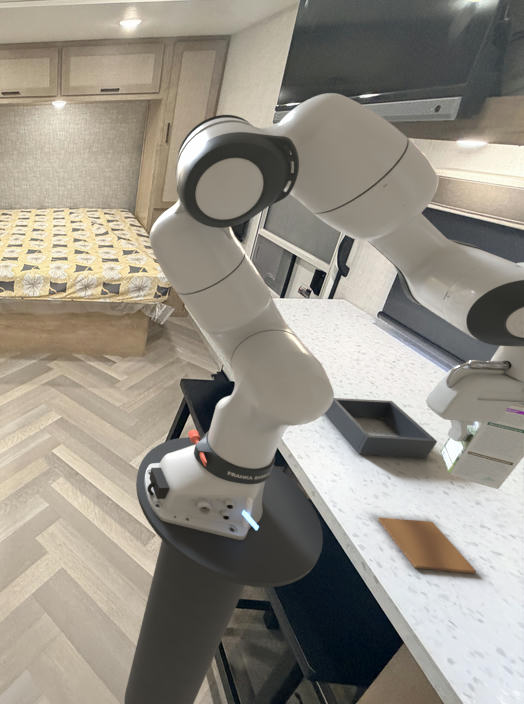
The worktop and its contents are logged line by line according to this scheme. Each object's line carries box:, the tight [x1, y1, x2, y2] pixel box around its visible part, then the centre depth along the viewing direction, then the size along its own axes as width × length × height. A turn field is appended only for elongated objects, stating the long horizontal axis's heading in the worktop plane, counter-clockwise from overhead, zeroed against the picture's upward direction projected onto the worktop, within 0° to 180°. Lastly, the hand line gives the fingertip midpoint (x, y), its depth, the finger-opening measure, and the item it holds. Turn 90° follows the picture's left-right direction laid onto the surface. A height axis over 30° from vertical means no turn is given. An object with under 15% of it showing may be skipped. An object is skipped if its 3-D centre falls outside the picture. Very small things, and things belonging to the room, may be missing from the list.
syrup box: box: [439, 404, 524, 490], centre depth 59 cm, size 6×6×14 cm
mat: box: [377, 517, 477, 574], centre depth 69 cm, size 9×9×1 cm
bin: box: [324, 397, 438, 459], centre depth 91 cm, size 14×14×5 cm
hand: (488, 440), depth 59 cm, fingers closed on syrup box, 7 cm apart
